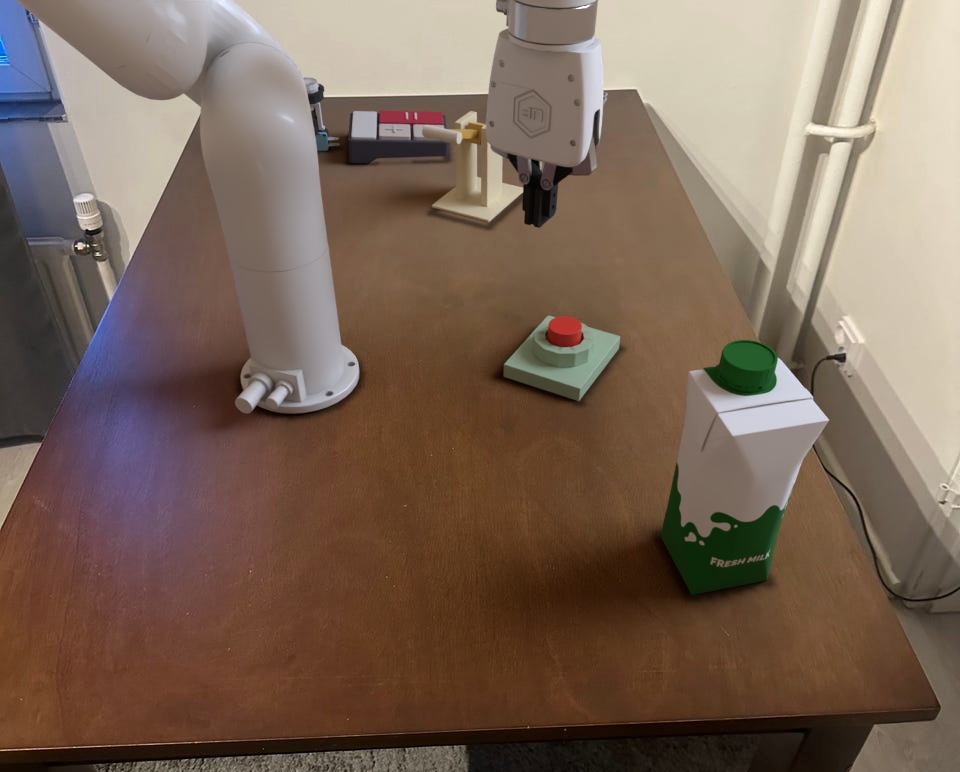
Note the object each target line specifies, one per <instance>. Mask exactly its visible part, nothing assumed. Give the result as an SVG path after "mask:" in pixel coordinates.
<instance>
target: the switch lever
mask: <svg viewBox="0 0 960 772" xmlns="http://www.w3.org/2000/svg"><path fill="white" fill-rule="evenodd" d="M485 125H486V123H483V122H478V121H477V122H469V123H468V129H455V128H450V129H449V128H447V129H444V128H440V127H435V126H431V125H424V127H423V129H422V134H423V136H424V137H427V138H432V139H436V140H441V141H445V142H448V144H449V143H450V144H454V145H455V144H460V143H461V141H462V139H466V142H469V143H474V144H477V146H478V145H479V146H481V128H482V127H483V126H485Z"/></svg>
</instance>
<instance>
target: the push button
mask: <svg viewBox="0 0 960 772" xmlns="http://www.w3.org/2000/svg"><path fill="white" fill-rule="evenodd" d="M303 78H304V82H305V85H306V89H307V94H308V100H309V104H310V109H311V114H312V120H313V126H314V132H315V138H316V145H317V152H322V151H324V152H325V151H328V150H329V148H330V147H336V146H337V147H339V146H340V143H339V142H330V141H339V139H340V137H335V136H334V137H333V136H330V135H329V129H328V128H326V126H325V125H324V123H323V116H322V108H321V102H322V101H323V100H324V98H325V96H324V95H325V94H324V92H325V86H324V85H323V84H321V83H318V80H317V79H316V78H314V77H308V76H307V77H303Z"/></svg>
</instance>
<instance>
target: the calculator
mask: <svg viewBox="0 0 960 772" xmlns="http://www.w3.org/2000/svg"><path fill="white" fill-rule="evenodd" d="M443 113H444V112H442V111H420V110H419V111H417V110H413V111H412V110H379V112H377V111H371V110H369V111H366V110H365V111H364V110H354V111H352V112H350V115H349V127H348V136H347V137H348V138H347V142H348V143H347V144H348V161H349V163H350V164H371V163H373V162H374V161H376V160H377V159H393V158H394V159H395V158H397V159H398V158H426V157H428V158H429V157H447V156H449V142H445V141H441V140H436V139H432V138H427V137H424V136H423V134H422V129H423V127H424V125H431V126H435V127H440V128H444V129H448V125H447V118H446V115H445V114H443Z"/></svg>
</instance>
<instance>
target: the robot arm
mask: <svg viewBox="0 0 960 772" xmlns="http://www.w3.org/2000/svg"><path fill="white" fill-rule="evenodd" d="M15 1H16V2H17V3H18V4H20V5H21V6H22V7H23V8H24V9H25V10H27V11H28V12H29V13H30V14H31V15H32V16H33V17H35V18H36V19H37V20H38V21H40V22H41V23H42V24H44V25H45V26H46V27H47V28H49V29H50V30H51V31H52V32H54V34H56V35H57V36H59V38H61V39H62V40H64V41H65V42H66V43H67V44H69V45H70V46H71V47H73V48H74V49H75V50H76V51H77V52H79V54H81V55H83V56H84V57H85V58H86V59H87V60H88V61H90V62H91V63H93V65H95V66H96V67H97V68H99V70H101V71H102V72H103V73H104V74H106V75H107V76H108V77H110V78H111V79H112V80H113V81H115V82H116V83H117V84H118V85H120V86H121V87H122V88H124V89H126V90H127V91H129V92H131V93H132V94H134V95H136V96H139V97H142V98H146V99H148V100H152V101H170V100H173V99H176V98H178V97H180V96H182V95H185V96H186V97H187V98H189V99H190V100H191V101H192V102H194V103H195V104H196V105H197V106H199V108H200V112H199V113H200V116H199V136H200V137H199V138H200V145H201V153H202V159H203V163H204V166H205V170H206V174H207V178H208V181H209V185H210V188H211V191H212V194H213V198H214V202H215V206H216V209H217V213H218V217H219V221H220V225H221V230H222V234H223V239H224V244H225V248H226V253H227V256H228V259H229V264H230V269H231V273H232V278H233V283H234V288H235V291H236V296H237V297H236V298H237V301H238V305H239V311H240V314H241V319H242V324H243V329H244V332H245V337H246V342H247V348H248V351H249V356H250V357H249V358H248V360H247V361H246V362H244V365H243V367H242V368H241V372H240V376H239V377H240V384H241V389H242V391H241V393H240V394H239V395H238V396H237V397H236V398H235V400H234V404H235V407H236V408H237V410H238V411H240V412H241V413H242V414H246V415H247V414H251V413H252V411H253V410H254V409H255V408H256V407H257V406H258V407H259V408H262V409H264V410H267V411H270V412H274V413H279V414H293V415H294V414H295V415H296V414H306V413H312V412H316V411H321V410H323V409H327V408H329V407H331V406H333V405H335V404H337V403H339V402H340V401H342V400H343V399H345V398H347V396H349V395H350V394H351V393H353V390H354V389H355V388H356V386H357V385H358V382H359V379H360V366H359V361H358V358H357V356H356V355H355V354H354V353H353V351H351V350H350V348H348V347H346V346H345V345H343V344H342V340H341V339H342V338H341V330H340V321H339V315H338V309H337V308H338V307H337V301H336V300H337V299H336V293H335V284H334V277H333V269H332V261H331V254H330V245H329V242H328V235H327V227H326V220H325V213H324V204H323V197H322V187H321V177H320V167H319V156H318V154H319V153H318V151H317V145H316V138H315V132H314V126H313V120H312V114H311V109H310V104H309V100H308V94H307V89H306V85H305V82H304V78H305V77H304V76H303V72H302V71H301V69H300V67H299V65H298V64H297V62H296V61H295V59H294V57H293V56H292V55H291V54H290V53H289V52H288V50H287V49H286V48H285V47H284V46H283V45H282V44H281V43H280V41H278V40H277V39H276V38H275V37H274V36H272V35H271V34H270V33H269V32H268V30H266V29H265V28H264V26H262V25H260V23H259V22H257V20H255V19H254V18H253V17H252V16H251V15H249V13H248V12H246V10H244V9H243V8H242V7H241V6H240V5H239V4H238V3H237V2H236V1H235V0H15ZM598 5H599V0H496V1H495V11H496V12H497V13H501V14H503V15H504V16H506V22H505V23H506V24H505V26H506V27H507V28H505V29H503V30H501V31H500V32H499V33H498V35H497V39H496V44H495V49H494V53H493V59H492V63H491V64H492V65H491V69H490V76H489V84H488V92H487V101H486V102H487V103H486V112H485V113H486V114H485V115H486V116H485V124H486V138H487V141H488V143H489V144H490V145H491V150H492V151H493V152H495V153H497V154H499V155H500V156H502V157H503V159H505V160H507V159H508V160H509V162H510V164H511V165H512V166H513V168H514V170H515V171H516V172H517V175H518V181H519V182H520V184H522V185H523V186H522V188H523V193H522V204H521V207H522V208H521V209H522V211H523V212H524V218H523V219H524V220H523V224H524V225H527V226H531V225H533V227H534V228H538V229H540V228H541V227H542V226H543V225H545V223H547V222H548V221H550V219H552V218H553V217H554V216H555V214H556V213H557V204H558V193H559V183H560V182H562V181H563V180H564V179H566V178H567V177H568V176H573V177H581V176H582V177H584V176H590V175H591V174H592V173H593V172H595V171H596V169H597V168H598V164H597V163H598V162H597V155H596V150H597V149H598V148H599V146H600V141H601V135H602V125H603V115H604V114H603V112H604V105H603V92H604V65H603V64H604V63H603V52H602V51H603V50H602V42H601V40H600V38H598V37H595V35H596V27H597V26H596V25H597V15H598ZM543 163H544V164H543Z"/></svg>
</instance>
